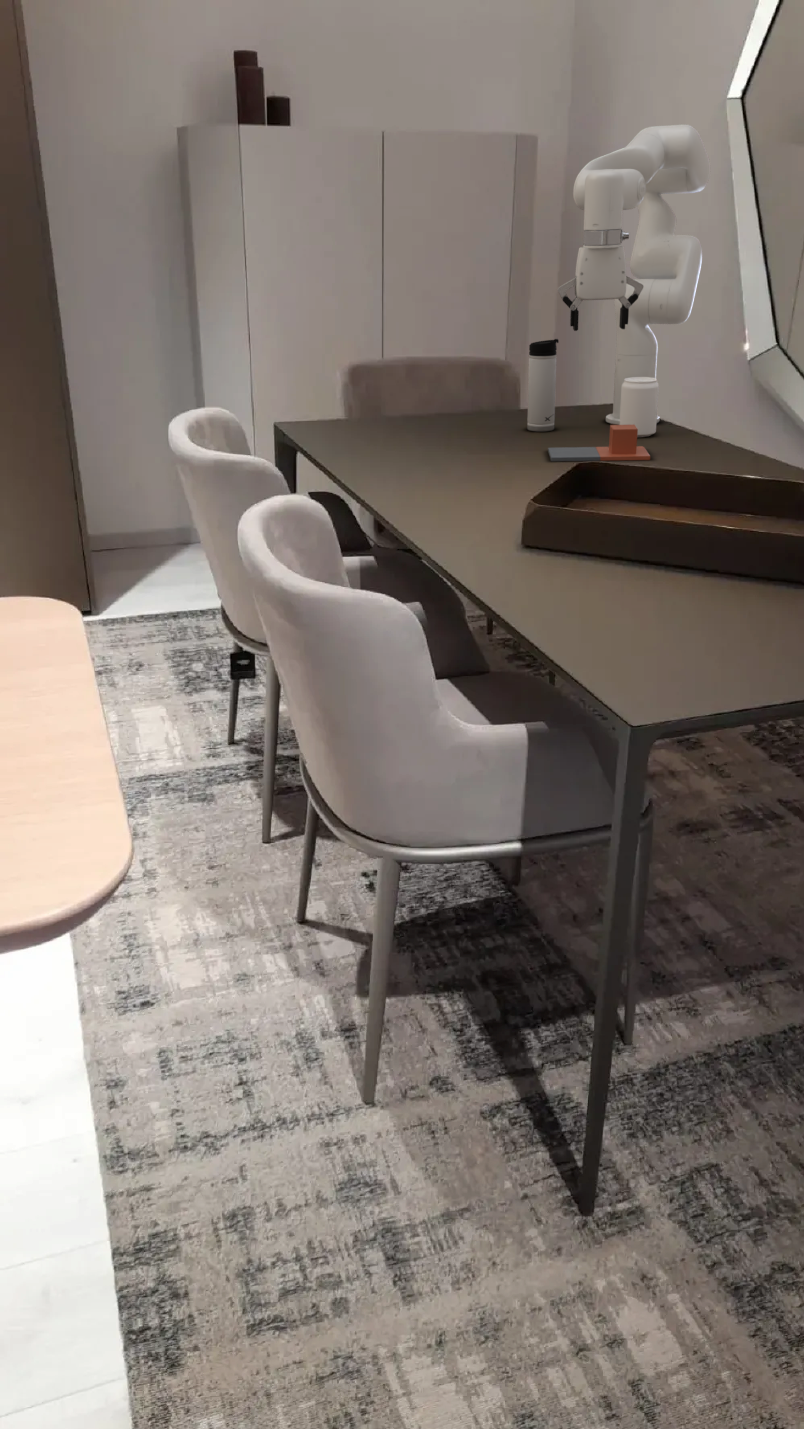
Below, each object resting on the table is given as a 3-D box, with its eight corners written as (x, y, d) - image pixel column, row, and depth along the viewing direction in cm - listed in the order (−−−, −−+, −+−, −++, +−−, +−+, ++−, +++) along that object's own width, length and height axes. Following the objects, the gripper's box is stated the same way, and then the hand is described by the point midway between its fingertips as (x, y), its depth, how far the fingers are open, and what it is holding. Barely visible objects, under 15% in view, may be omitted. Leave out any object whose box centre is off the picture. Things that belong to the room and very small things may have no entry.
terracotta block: (608, 449, 230) (610, 425, 228) (633, 448, 230) (634, 424, 228) (611, 454, 226) (612, 429, 224) (636, 453, 225) (637, 429, 223)
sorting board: (547, 451, 234) (548, 447, 233) (643, 450, 232) (643, 446, 232) (550, 461, 225) (551, 457, 224) (650, 460, 223) (650, 456, 223)
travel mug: (554, 432, 253) (557, 340, 245) (525, 431, 254) (527, 341, 246) (556, 427, 259) (559, 337, 250) (528, 426, 260) (530, 337, 251)
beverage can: (644, 430, 252) (647, 375, 247) (662, 436, 245) (666, 380, 240) (612, 432, 250) (615, 378, 245) (629, 439, 243) (633, 383, 238)
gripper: (642, 236, 223) (637, 325, 231) (557, 240, 224) (555, 328, 232) (649, 238, 217) (643, 330, 224) (560, 242, 218) (558, 333, 225)
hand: (598, 329), depth 228 cm, fingers open, 9 cm apart
